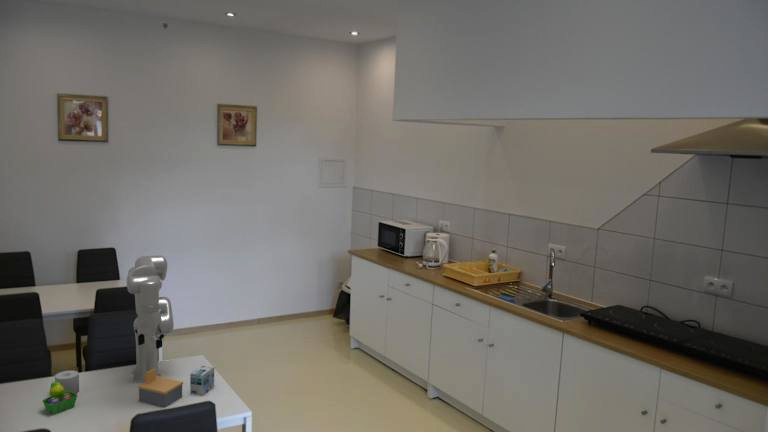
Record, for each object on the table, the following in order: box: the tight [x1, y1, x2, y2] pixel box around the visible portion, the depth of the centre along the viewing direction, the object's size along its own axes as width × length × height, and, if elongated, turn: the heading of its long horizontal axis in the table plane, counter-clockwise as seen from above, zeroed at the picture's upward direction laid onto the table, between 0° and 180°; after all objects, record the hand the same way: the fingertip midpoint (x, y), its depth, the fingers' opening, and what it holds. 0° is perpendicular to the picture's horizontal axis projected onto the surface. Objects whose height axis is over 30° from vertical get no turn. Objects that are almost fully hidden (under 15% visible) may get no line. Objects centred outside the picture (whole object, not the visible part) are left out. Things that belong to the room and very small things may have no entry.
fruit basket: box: [42, 381, 78, 415], centre depth 243 cm, size 11×9×11 cm
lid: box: [137, 369, 184, 394], centre depth 253 cm, size 15×12×7 cm
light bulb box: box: [189, 364, 215, 397], centre depth 264 cm, size 11×7×11 cm, turn 168°
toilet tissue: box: [54, 370, 80, 395], centre depth 260 cm, size 9×13×9 cm
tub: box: [138, 384, 183, 408], centre depth 254 cm, size 14×11×7 cm
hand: (150, 346), depth 253 cm, fingers open, 9 cm apart
